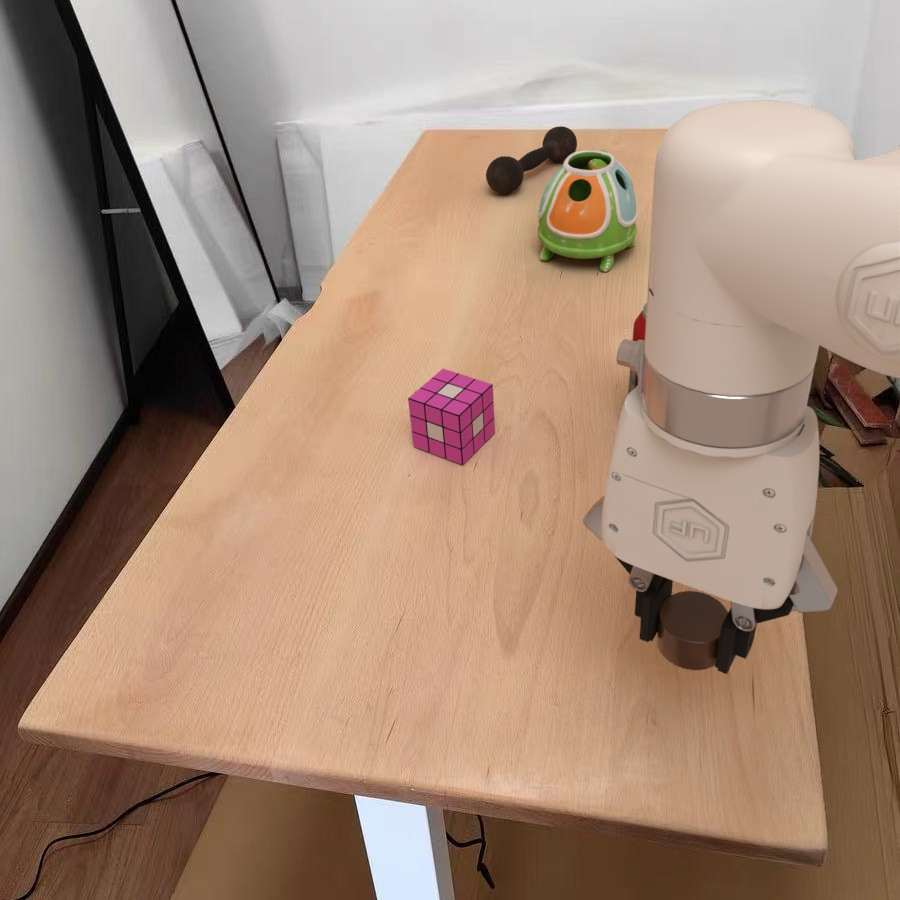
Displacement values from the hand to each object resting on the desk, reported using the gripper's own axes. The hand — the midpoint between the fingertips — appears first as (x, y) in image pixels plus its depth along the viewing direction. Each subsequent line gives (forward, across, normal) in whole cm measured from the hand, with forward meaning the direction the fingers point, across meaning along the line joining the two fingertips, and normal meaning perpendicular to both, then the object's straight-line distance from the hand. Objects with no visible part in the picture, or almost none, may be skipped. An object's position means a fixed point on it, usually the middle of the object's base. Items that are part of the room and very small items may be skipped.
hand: (691, 637), depth 52 cm
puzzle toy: (+8, -30, +19) cm, 36 cm away
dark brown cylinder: (+1, 0, 0) cm, 1 cm away
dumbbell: (+7, -55, +80) cm, 97 cm away
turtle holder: (+8, -37, +62) cm, 72 cm away
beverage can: (+8, -14, +31) cm, 35 cm away
